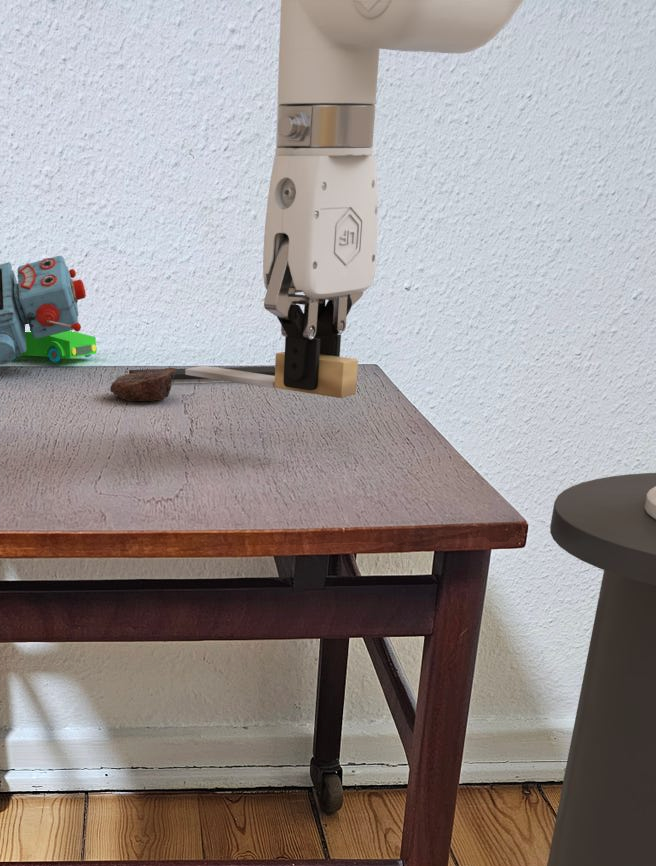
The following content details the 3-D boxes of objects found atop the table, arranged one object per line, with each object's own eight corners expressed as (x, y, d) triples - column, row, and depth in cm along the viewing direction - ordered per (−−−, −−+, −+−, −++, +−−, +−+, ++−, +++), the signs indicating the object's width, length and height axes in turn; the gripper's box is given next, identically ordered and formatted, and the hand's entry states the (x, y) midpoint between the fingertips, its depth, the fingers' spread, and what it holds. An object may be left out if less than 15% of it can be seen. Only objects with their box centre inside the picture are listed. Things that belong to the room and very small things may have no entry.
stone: (162, 407, 123) (162, 375, 121) (98, 403, 125) (96, 371, 123) (183, 396, 128) (183, 365, 127) (121, 393, 130) (120, 362, 129)
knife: (357, 394, 100) (359, 358, 99) (339, 398, 98) (342, 362, 97) (203, 371, 110) (203, 338, 108) (185, 374, 108) (185, 341, 107)
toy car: (-3, 358, 149) (-8, 300, 146) (30, 352, 154) (27, 296, 151) (68, 364, 144) (65, 304, 141) (100, 357, 149) (98, 299, 146)
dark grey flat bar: (284, 383, 137) (273, 377, 142) (285, 371, 137) (273, 366, 141) (136, 387, 134) (129, 381, 139) (136, 375, 134) (128, 369, 138)
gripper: (303, 134, 84) (290, 405, 94) (420, 134, 95) (398, 378, 104) (221, 134, 89) (217, 393, 98) (343, 134, 99) (328, 369, 109)
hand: (310, 383), depth 101 cm, fingers closed on knife, 2 cm apart
